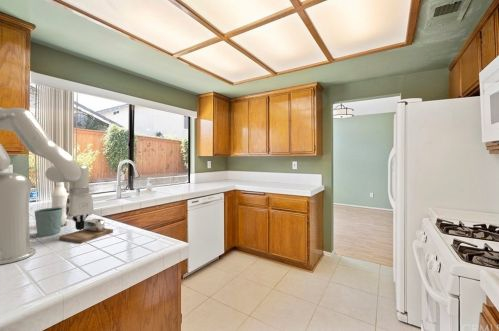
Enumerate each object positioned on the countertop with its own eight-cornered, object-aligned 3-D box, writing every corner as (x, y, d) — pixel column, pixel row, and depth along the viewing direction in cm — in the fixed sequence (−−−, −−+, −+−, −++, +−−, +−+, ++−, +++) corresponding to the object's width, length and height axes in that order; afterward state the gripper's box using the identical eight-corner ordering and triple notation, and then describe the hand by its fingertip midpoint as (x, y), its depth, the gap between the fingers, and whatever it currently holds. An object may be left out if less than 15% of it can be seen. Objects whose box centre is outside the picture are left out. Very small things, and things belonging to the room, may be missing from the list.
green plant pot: (29, 236, 107) (28, 211, 106) (53, 229, 117) (52, 206, 116) (46, 238, 104) (45, 212, 104) (68, 231, 114) (67, 207, 114)
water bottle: (59, 227, 120) (58, 181, 119) (48, 227, 121) (47, 180, 120) (72, 223, 127) (71, 179, 126) (62, 223, 128) (61, 179, 128)
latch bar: (106, 229, 110) (106, 218, 110) (99, 232, 107) (98, 220, 106) (89, 227, 114) (89, 216, 114) (82, 229, 111) (82, 218, 111)
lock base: (81, 243, 98) (80, 229, 97) (59, 239, 102) (59, 226, 102) (113, 232, 112) (112, 220, 112) (92, 229, 117) (92, 218, 116)
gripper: (66, 193, 99) (67, 235, 99) (100, 189, 113) (100, 225, 113) (56, 192, 102) (57, 233, 102) (90, 189, 116) (90, 224, 116)
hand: (80, 229), depth 108 cm, fingers closed
